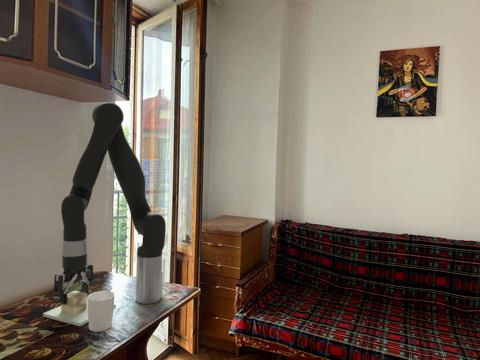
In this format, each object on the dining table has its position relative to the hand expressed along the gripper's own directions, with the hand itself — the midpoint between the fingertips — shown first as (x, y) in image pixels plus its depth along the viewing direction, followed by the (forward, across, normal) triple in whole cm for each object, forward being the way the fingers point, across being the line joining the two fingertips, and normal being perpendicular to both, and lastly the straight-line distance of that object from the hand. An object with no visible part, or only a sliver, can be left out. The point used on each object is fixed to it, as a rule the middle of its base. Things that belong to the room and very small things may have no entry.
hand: (74, 299), depth 116 cm
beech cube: (+4, 0, 0) cm, 4 cm away
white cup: (+5, +4, +15) cm, 16 cm away
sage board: (+5, -2, +1) cm, 5 cm away
